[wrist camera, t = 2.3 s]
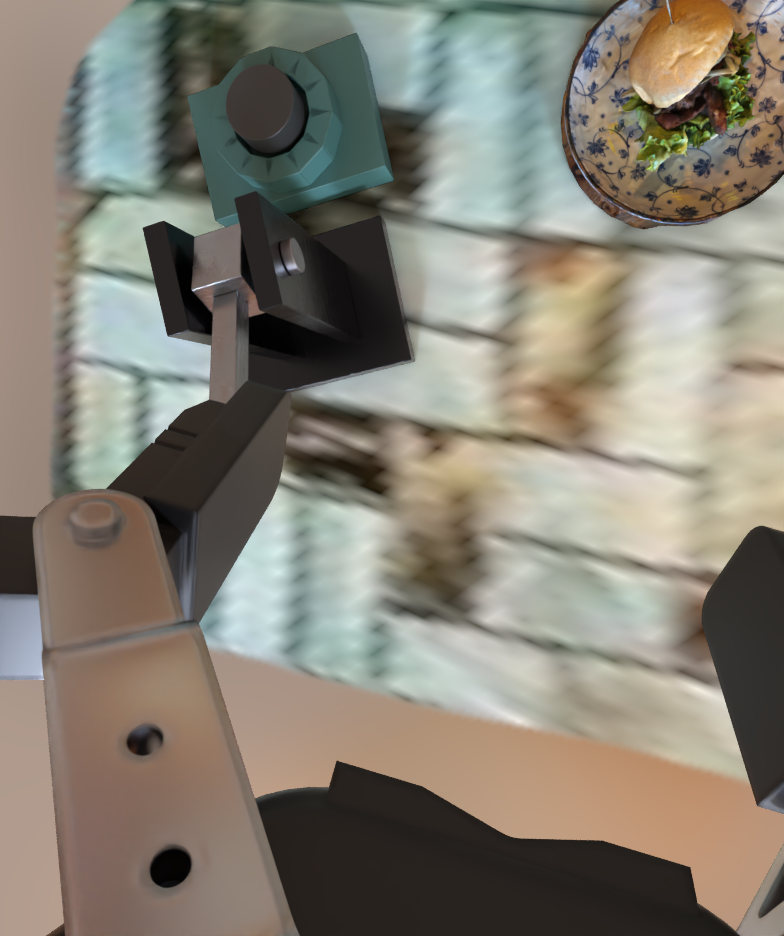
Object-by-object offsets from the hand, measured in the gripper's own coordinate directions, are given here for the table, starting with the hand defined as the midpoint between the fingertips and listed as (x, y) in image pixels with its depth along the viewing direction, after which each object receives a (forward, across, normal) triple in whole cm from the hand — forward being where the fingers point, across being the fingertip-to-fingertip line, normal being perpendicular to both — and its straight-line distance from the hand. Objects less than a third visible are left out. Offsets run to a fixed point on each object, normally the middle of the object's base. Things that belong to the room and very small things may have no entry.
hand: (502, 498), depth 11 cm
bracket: (+26, +10, +8) cm, 29 cm away
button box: (+30, +13, 0) cm, 33 cm away
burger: (+30, -6, -6) cm, 31 cm away
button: (+27, +14, -1) cm, 30 cm away
